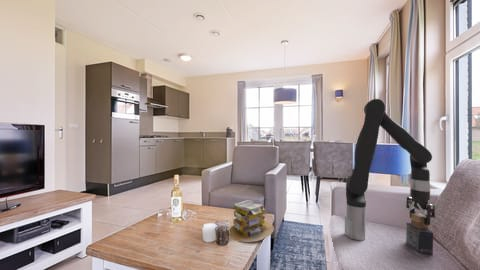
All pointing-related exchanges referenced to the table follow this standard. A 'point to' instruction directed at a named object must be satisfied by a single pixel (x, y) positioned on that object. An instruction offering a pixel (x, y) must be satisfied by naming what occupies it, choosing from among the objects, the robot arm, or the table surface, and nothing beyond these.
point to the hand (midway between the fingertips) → (419, 221)
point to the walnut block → (418, 221)
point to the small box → (419, 239)
